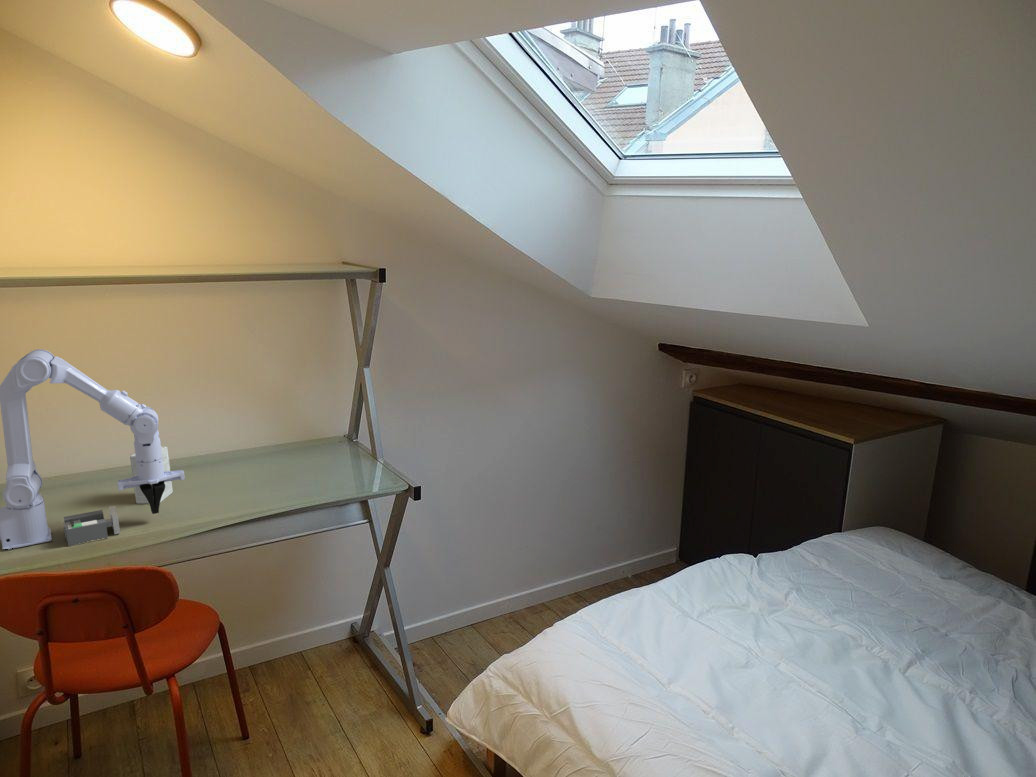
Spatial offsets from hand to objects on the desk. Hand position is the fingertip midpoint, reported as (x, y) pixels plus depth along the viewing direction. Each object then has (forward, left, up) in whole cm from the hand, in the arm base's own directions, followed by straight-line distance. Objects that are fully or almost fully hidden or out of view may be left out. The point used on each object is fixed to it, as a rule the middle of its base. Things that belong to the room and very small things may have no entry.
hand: (155, 512), depth 188 cm
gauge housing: (-15, 0, -3) cm, 15 cm away
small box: (+2, +17, -3) cm, 18 cm away
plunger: (-14, 0, -2) cm, 14 cm away
